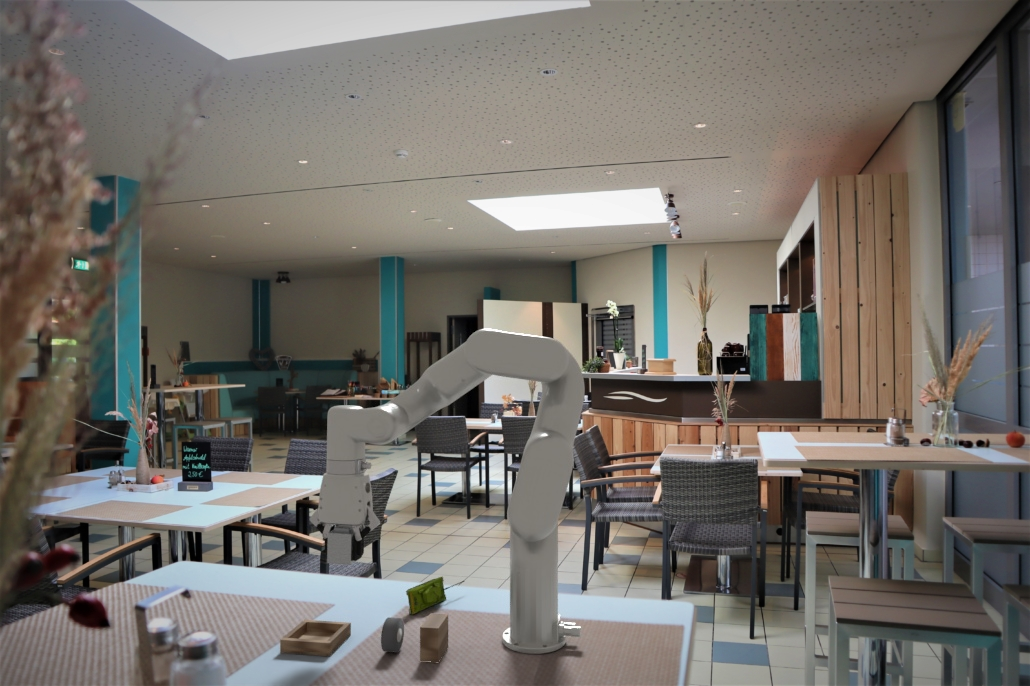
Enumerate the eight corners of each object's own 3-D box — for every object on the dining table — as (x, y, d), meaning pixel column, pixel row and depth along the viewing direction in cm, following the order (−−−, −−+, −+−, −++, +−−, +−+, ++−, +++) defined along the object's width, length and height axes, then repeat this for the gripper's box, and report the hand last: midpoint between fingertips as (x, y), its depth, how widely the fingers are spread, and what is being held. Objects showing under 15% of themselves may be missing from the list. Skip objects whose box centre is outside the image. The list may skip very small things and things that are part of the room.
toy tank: (393, 587, 154) (427, 586, 148) (448, 566, 169) (480, 564, 164) (398, 620, 153) (432, 620, 147) (453, 595, 168) (485, 595, 163)
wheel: (404, 644, 136) (404, 613, 136) (394, 657, 130) (394, 625, 130) (391, 643, 136) (391, 612, 136) (380, 656, 130) (380, 624, 130)
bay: (350, 635, 141) (350, 622, 141) (329, 656, 131) (329, 643, 131) (304, 631, 143) (304, 619, 143) (280, 652, 133) (280, 639, 133)
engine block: (361, 557, 142) (361, 524, 142) (350, 564, 137) (351, 530, 137) (338, 555, 143) (338, 522, 143) (327, 563, 138) (327, 528, 138)
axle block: (448, 647, 135) (448, 614, 135) (438, 663, 128) (438, 628, 128) (429, 646, 136) (429, 613, 136) (418, 661, 129) (418, 627, 129)
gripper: (392, 466, 142) (391, 555, 142) (315, 462, 145) (313, 549, 145) (378, 472, 135) (376, 566, 135) (297, 468, 138) (295, 560, 138)
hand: (344, 556), depth 140 cm, fingers closed on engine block, 5 cm apart
